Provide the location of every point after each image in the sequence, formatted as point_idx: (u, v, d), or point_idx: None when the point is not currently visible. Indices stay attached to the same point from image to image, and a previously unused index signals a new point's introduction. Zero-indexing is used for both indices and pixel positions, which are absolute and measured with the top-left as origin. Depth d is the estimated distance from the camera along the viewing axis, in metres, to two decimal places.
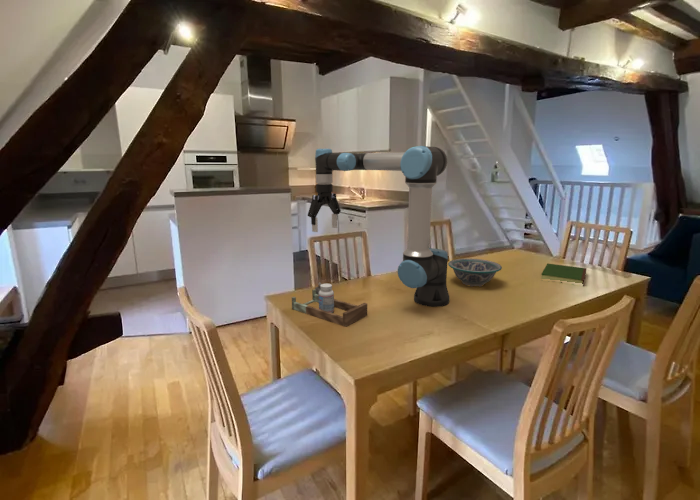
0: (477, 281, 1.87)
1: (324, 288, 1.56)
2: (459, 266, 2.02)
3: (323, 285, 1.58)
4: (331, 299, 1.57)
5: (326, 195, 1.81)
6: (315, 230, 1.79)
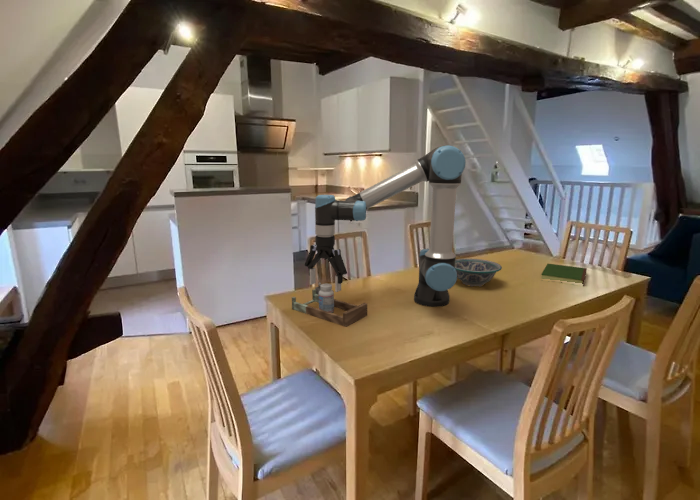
0: (477, 281, 1.87)
1: (324, 288, 1.56)
2: (459, 266, 2.02)
3: (323, 285, 1.58)
4: (331, 299, 1.57)
5: (323, 249, 1.54)
6: None
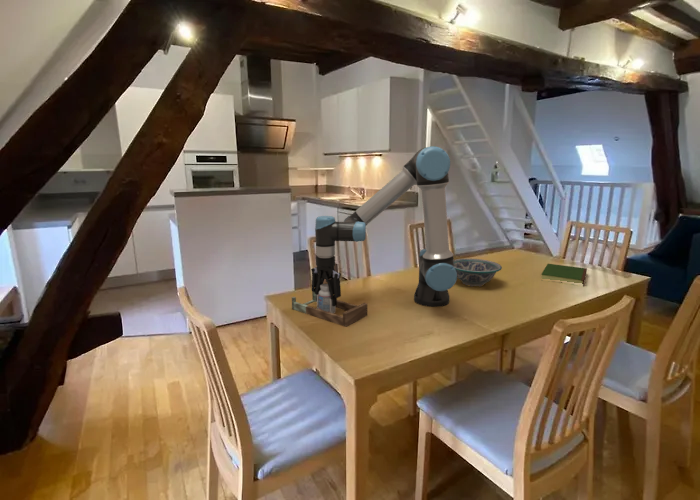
0: (477, 281, 1.87)
1: (324, 288, 1.56)
2: (459, 266, 2.02)
3: (323, 285, 1.58)
4: None
5: (324, 269, 1.56)
6: None
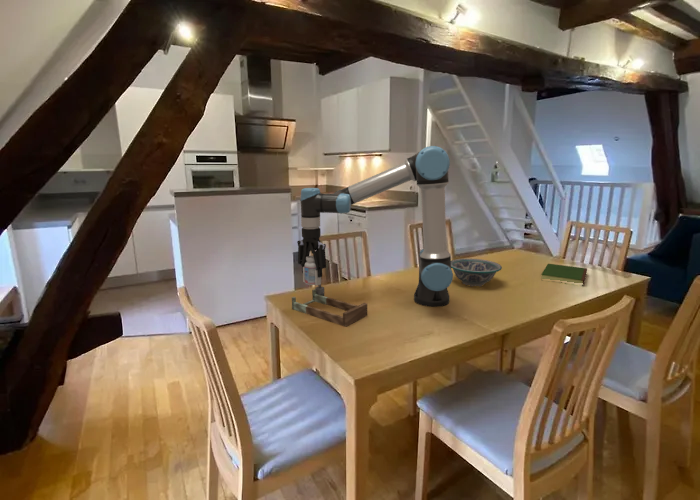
0: (477, 281, 1.87)
1: (309, 259, 1.58)
2: (459, 266, 2.02)
3: (309, 257, 1.60)
4: None
5: (309, 241, 1.58)
6: None
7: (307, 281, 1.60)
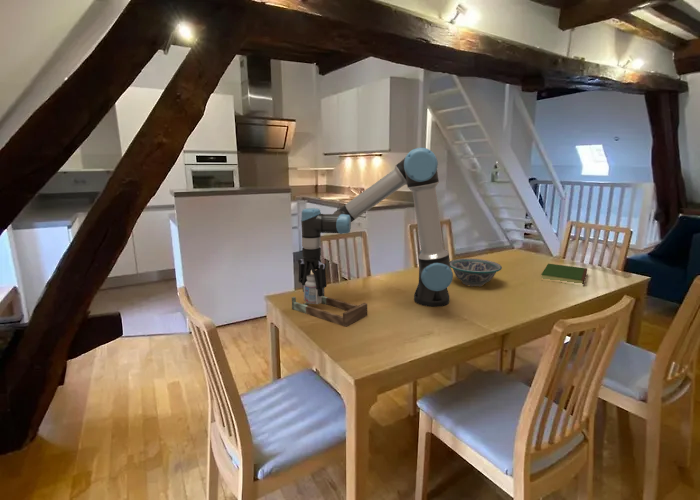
0: (477, 281, 1.87)
1: (310, 279, 1.60)
2: (459, 266, 2.02)
3: (309, 276, 1.62)
4: None
5: (310, 260, 1.60)
6: None
7: (308, 300, 1.62)
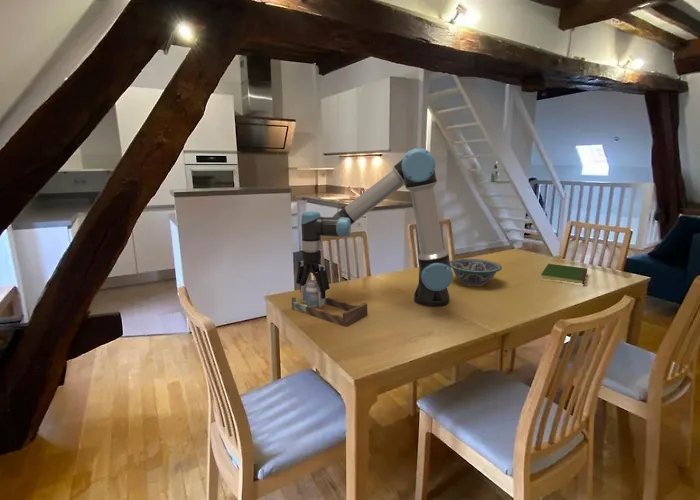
0: (477, 281, 1.87)
1: (311, 284, 1.60)
2: (459, 266, 2.02)
3: (310, 281, 1.62)
4: (317, 295, 1.62)
5: (310, 263, 1.60)
6: None
7: (308, 305, 1.62)
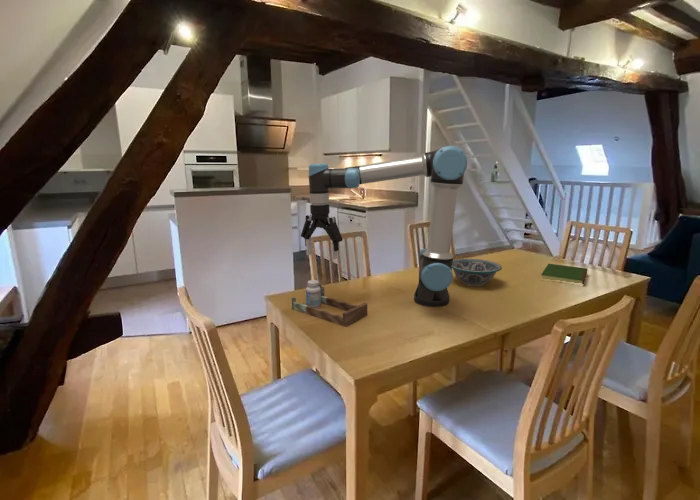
0: (477, 281, 1.87)
1: (311, 284, 1.61)
2: (459, 266, 2.02)
3: (310, 281, 1.62)
4: (318, 295, 1.62)
5: (318, 217, 1.55)
6: None
7: (308, 305, 1.62)
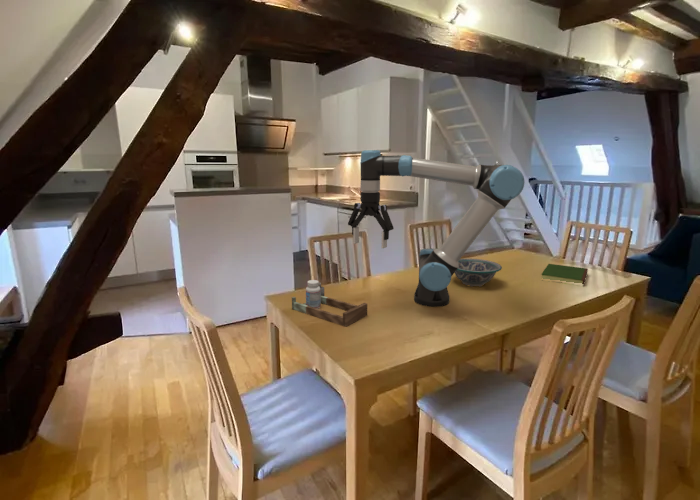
0: (477, 281, 1.87)
1: (311, 284, 1.61)
2: (459, 266, 2.02)
3: (310, 281, 1.62)
4: (318, 295, 1.62)
5: (368, 205, 1.53)
6: None
7: (308, 305, 1.62)
